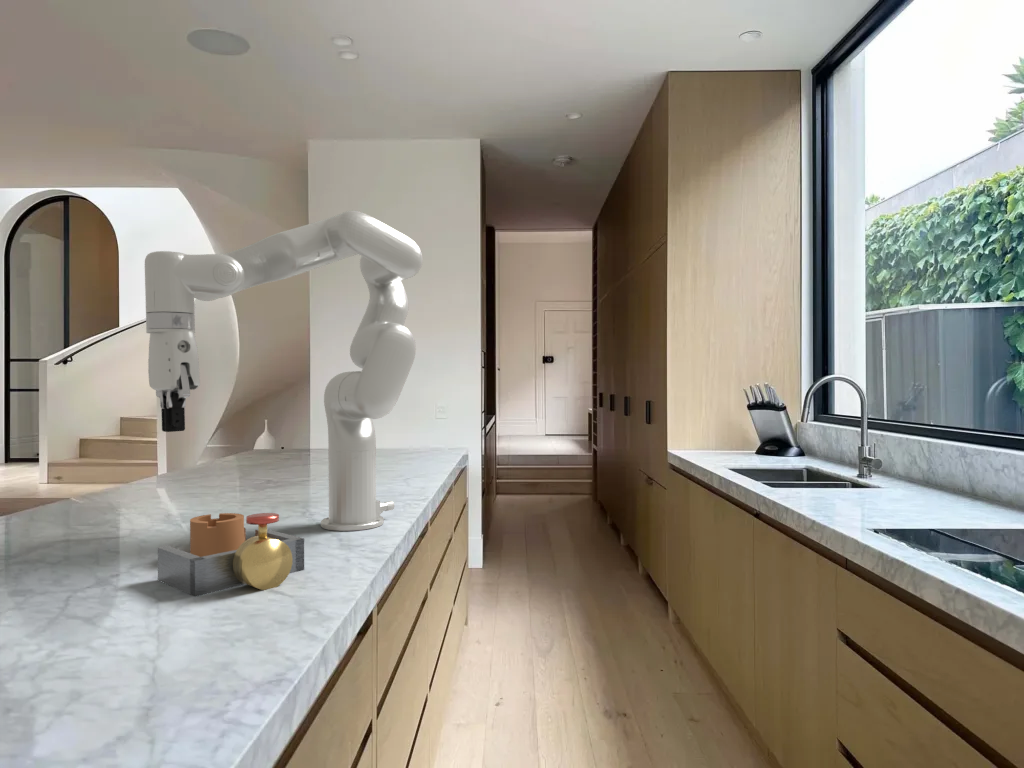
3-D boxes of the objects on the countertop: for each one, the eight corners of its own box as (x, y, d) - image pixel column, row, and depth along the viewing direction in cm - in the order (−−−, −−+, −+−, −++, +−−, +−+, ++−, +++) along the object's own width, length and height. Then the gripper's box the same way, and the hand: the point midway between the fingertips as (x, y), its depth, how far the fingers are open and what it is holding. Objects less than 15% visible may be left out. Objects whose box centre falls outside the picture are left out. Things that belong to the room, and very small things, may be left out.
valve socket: (263, 558, 113) (263, 497, 113) (322, 576, 102) (322, 508, 102) (157, 581, 100) (157, 512, 100) (212, 604, 89) (211, 527, 89)
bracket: (243, 562, 111) (243, 520, 111) (187, 567, 109) (187, 524, 109) (246, 539, 128) (246, 502, 128) (198, 542, 126) (198, 505, 125)
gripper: (213, 323, 114) (215, 431, 115) (174, 328, 124) (176, 428, 124) (167, 320, 109) (170, 434, 109) (130, 326, 118) (132, 431, 119)
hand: (173, 430), depth 117 cm, fingers closed
